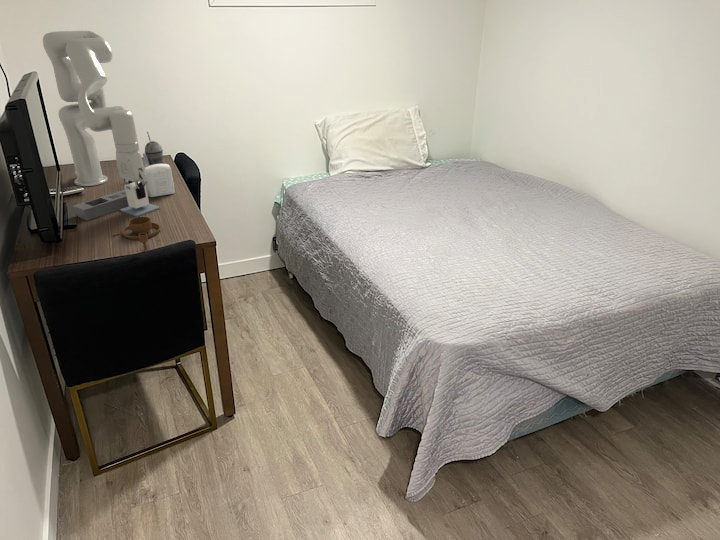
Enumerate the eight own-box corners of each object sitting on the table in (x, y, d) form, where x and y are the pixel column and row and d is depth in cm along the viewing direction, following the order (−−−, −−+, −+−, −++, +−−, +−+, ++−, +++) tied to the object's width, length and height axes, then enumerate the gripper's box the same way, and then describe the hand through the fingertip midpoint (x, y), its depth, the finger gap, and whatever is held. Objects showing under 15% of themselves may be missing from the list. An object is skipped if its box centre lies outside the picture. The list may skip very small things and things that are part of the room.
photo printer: (173, 190, 209) (168, 161, 204) (176, 193, 206) (171, 163, 200) (147, 195, 204) (141, 165, 198) (149, 198, 201) (143, 167, 195)
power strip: (75, 216, 185) (72, 204, 183) (134, 197, 203) (131, 186, 200) (86, 220, 182) (83, 208, 179) (145, 200, 199) (143, 189, 197)
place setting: (175, 227, 178) (172, 211, 175) (150, 253, 161) (146, 236, 158) (126, 225, 179) (122, 210, 176) (96, 251, 162) (91, 234, 159)
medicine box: (155, 172, 230) (152, 153, 226) (146, 172, 230) (142, 153, 226) (162, 167, 237) (158, 148, 233) (152, 166, 237) (149, 148, 233)
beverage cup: (170, 177, 224) (162, 131, 215) (154, 181, 220) (146, 134, 210) (162, 173, 229) (154, 128, 219) (146, 177, 224) (137, 131, 214)
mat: (120, 211, 190) (119, 209, 189) (143, 203, 197) (143, 201, 197) (136, 217, 185) (136, 215, 185) (160, 208, 192) (160, 207, 192)
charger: (128, 206, 189) (123, 185, 185) (141, 201, 193) (137, 180, 189) (135, 208, 187) (131, 187, 183) (149, 203, 191) (145, 183, 187)
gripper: (103, 145, 181) (114, 195, 190) (132, 153, 173) (143, 204, 182) (122, 141, 187) (132, 189, 195) (151, 148, 179) (160, 198, 187)
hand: (137, 196), depth 188 cm, fingers closed on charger, 4 cm apart
